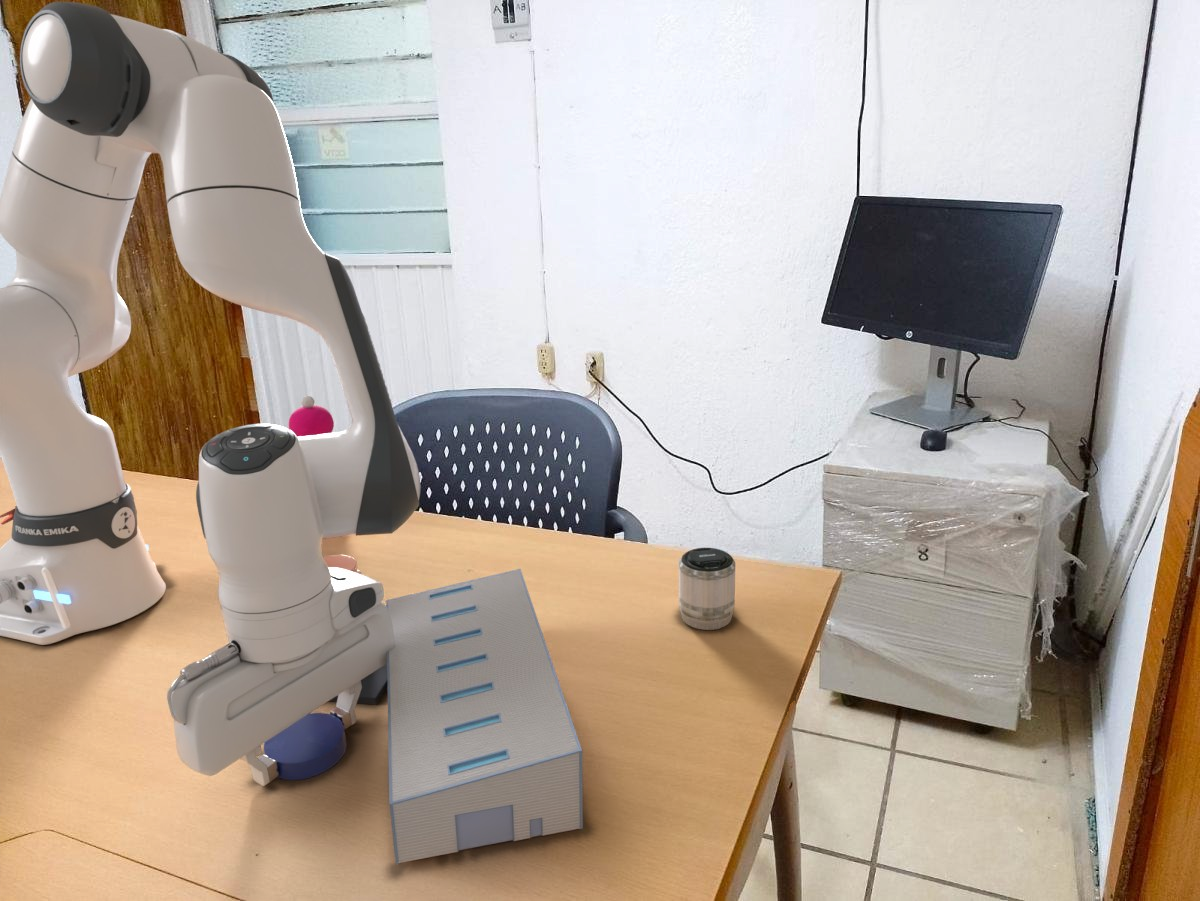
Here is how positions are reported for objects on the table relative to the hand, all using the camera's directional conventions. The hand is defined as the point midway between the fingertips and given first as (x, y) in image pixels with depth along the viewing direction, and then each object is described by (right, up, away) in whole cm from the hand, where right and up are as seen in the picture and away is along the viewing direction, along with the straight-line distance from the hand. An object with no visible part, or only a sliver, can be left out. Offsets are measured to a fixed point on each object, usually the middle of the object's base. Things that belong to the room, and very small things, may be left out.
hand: (307, 751), depth 75 cm
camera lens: (+39, +8, +20) cm, 44 cm away
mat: (-1, +4, +14) cm, 14 cm away
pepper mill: (-14, +16, +47) cm, 52 cm away
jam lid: (0, +1, 0) cm, 1 cm away
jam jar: (-1, +5, +13) cm, 14 cm away
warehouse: (+14, +1, +3) cm, 15 cm away
